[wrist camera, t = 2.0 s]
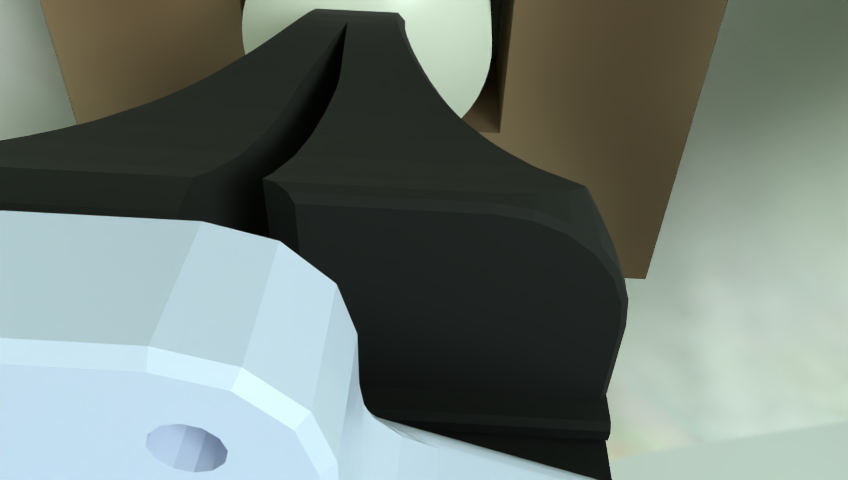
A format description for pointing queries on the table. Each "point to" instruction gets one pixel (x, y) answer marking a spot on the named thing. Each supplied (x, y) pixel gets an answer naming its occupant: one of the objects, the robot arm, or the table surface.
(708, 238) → the table surface
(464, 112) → the button one
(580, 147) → the button board
